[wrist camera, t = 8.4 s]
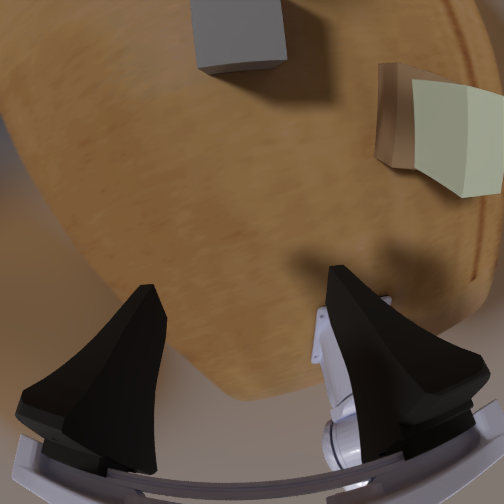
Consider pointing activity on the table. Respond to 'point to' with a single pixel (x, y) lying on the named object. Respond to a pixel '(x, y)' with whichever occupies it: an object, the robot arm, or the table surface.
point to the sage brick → (459, 136)
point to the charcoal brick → (238, 35)
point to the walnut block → (398, 113)
